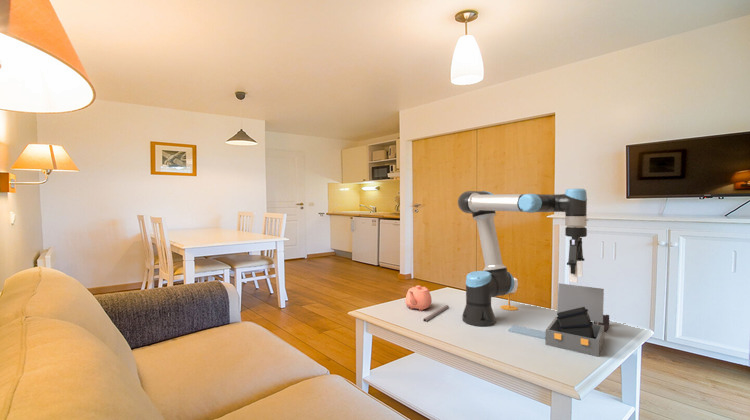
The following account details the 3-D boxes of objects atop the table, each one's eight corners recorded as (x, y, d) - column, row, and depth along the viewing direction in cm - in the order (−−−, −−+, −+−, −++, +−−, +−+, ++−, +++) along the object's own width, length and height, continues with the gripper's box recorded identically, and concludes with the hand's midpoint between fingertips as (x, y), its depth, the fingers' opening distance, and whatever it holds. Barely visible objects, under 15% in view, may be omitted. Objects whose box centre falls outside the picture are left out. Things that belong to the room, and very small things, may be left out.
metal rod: (448, 308, 187) (448, 305, 187) (426, 322, 165) (426, 318, 165) (445, 308, 189) (445, 304, 189) (423, 322, 166) (423, 317, 166)
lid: (558, 283, 155) (559, 283, 156) (557, 315, 153) (557, 314, 154) (603, 288, 145) (603, 288, 146) (602, 323, 143) (603, 322, 144)
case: (545, 345, 137) (545, 306, 137) (557, 327, 157) (557, 293, 157) (598, 357, 126) (598, 315, 126) (605, 336, 146) (605, 300, 146)
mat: (508, 331, 153) (508, 329, 153) (513, 326, 159) (513, 324, 159) (544, 339, 143) (544, 337, 143) (549, 333, 150) (549, 332, 150)
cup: (498, 305, 193) (498, 276, 192) (515, 305, 191) (515, 277, 191) (502, 310, 184) (502, 280, 183) (520, 310, 182) (520, 280, 182)
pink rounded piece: (398, 311, 182) (398, 288, 182) (414, 302, 199) (414, 281, 199) (421, 315, 175) (421, 291, 175) (436, 305, 192) (436, 284, 192)
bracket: (590, 330, 154) (590, 319, 154) (594, 323, 164) (594, 312, 164) (606, 333, 151) (606, 322, 151) (609, 325, 160) (609, 315, 160)
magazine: (601, 346, 131) (582, 308, 136) (567, 351, 140) (551, 315, 145) (604, 344, 134) (585, 306, 139) (571, 349, 143) (554, 313, 148)
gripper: (582, 228, 127) (582, 285, 127) (590, 225, 147) (590, 275, 147) (559, 227, 132) (559, 283, 132) (570, 225, 152) (570, 273, 152)
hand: (576, 279), depth 140 cm, fingers open, 13 cm apart
